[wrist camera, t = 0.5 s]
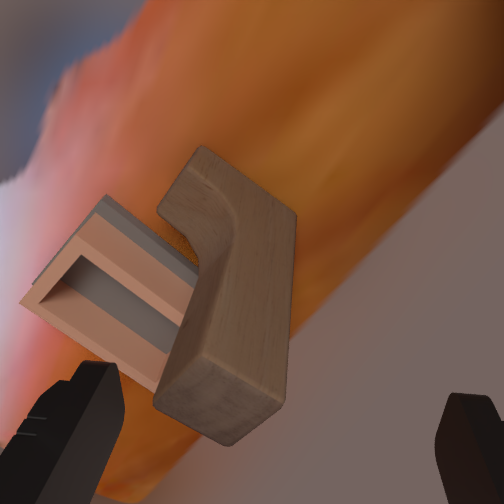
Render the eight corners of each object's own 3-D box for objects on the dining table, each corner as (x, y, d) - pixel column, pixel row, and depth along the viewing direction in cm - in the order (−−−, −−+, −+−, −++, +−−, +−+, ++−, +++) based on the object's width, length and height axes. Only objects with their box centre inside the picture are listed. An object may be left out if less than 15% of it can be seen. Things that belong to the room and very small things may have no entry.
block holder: (106, 193, 35) (80, 220, 31) (245, 305, 39) (238, 340, 35) (37, 277, 40) (8, 309, 36) (166, 367, 44) (152, 403, 41)
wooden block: (170, 186, 34) (54, 358, 18) (201, 141, 31) (99, 294, 16) (263, 251, 36) (228, 453, 21) (299, 213, 34) (288, 407, 18)
